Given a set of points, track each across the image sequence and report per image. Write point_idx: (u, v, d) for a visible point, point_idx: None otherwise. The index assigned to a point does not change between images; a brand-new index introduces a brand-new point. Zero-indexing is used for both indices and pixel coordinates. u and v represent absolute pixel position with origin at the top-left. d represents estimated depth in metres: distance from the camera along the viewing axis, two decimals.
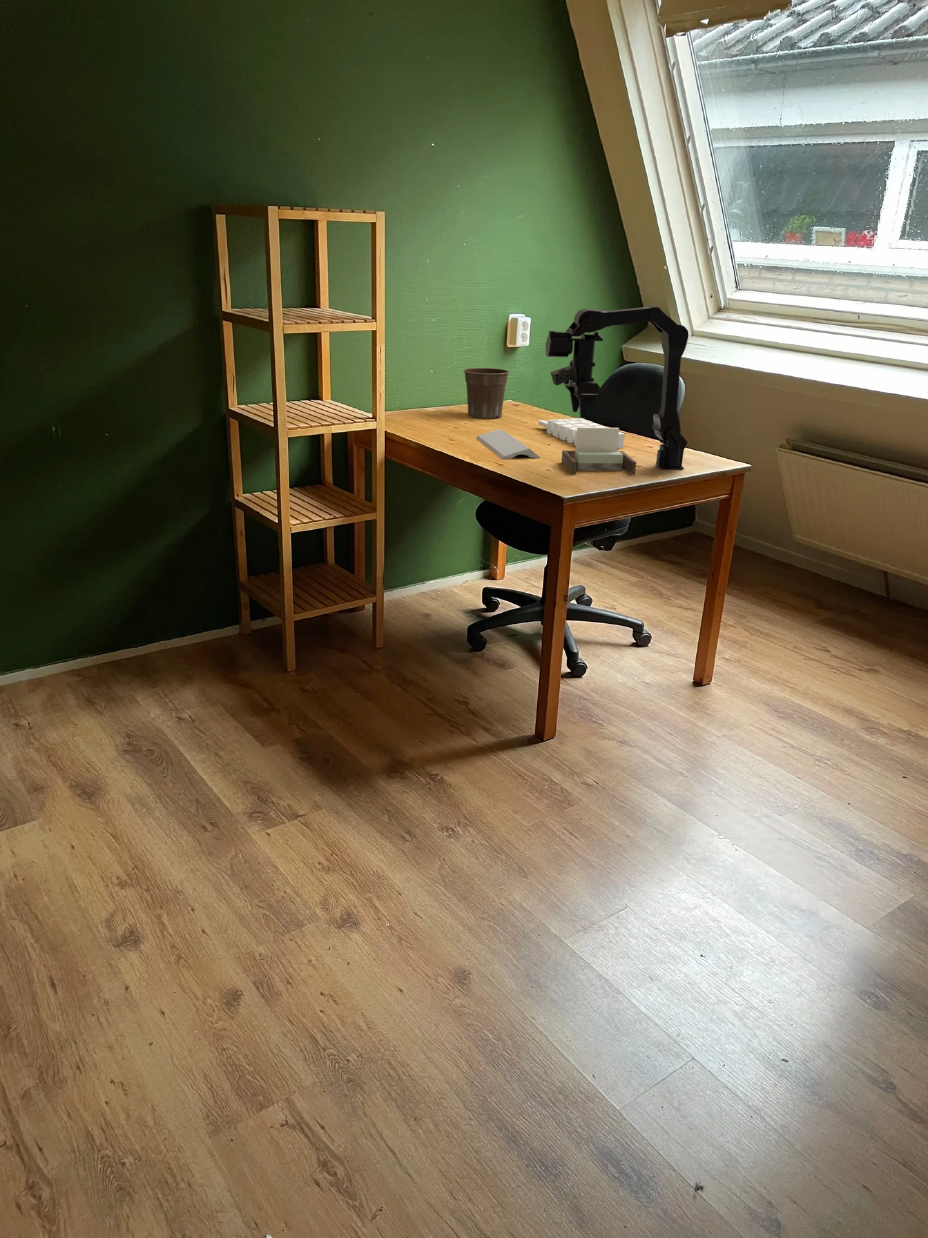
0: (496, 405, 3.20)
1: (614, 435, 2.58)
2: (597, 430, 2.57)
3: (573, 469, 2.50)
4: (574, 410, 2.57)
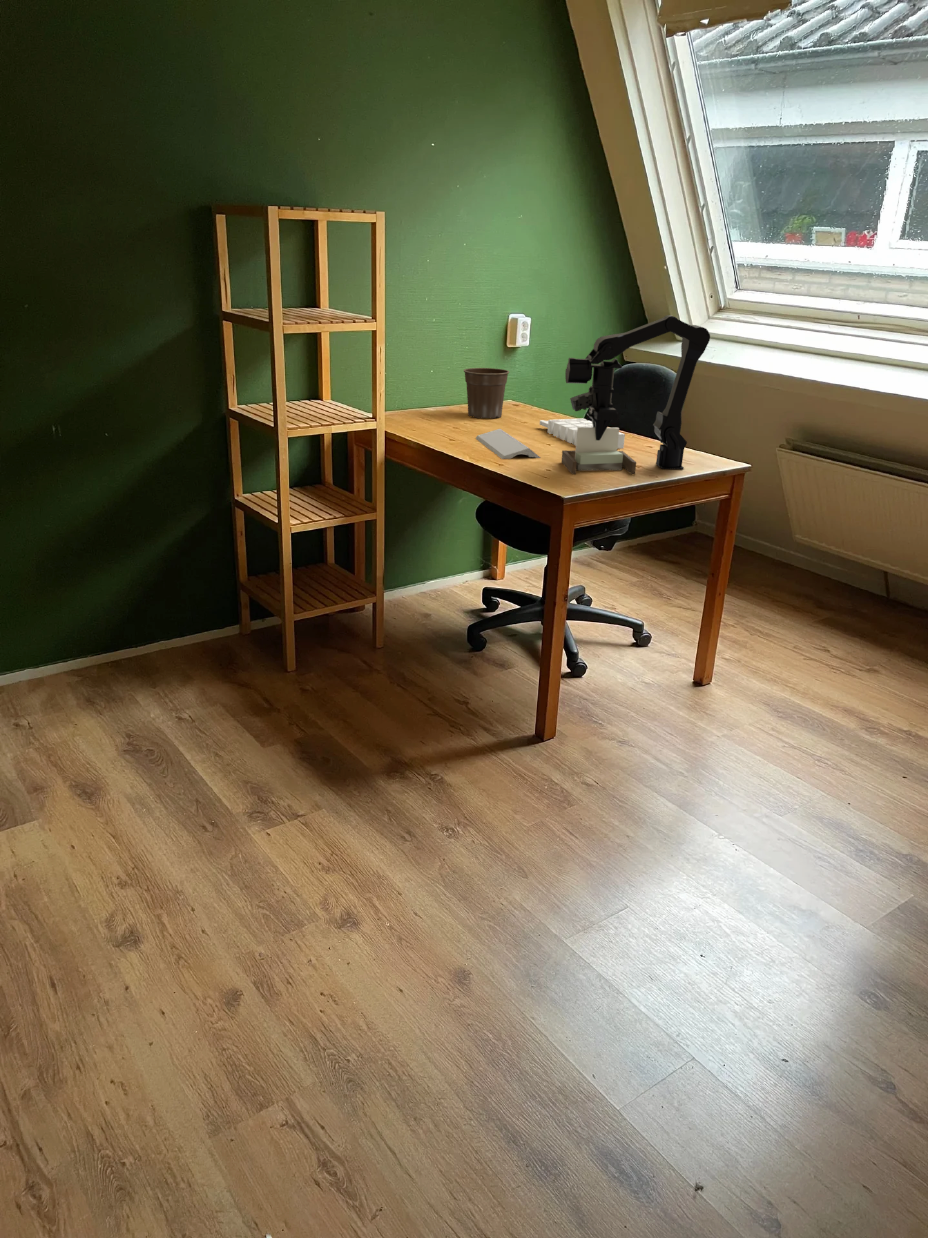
0: (496, 405, 3.20)
1: (614, 435, 2.58)
2: None
3: (573, 469, 2.50)
4: None
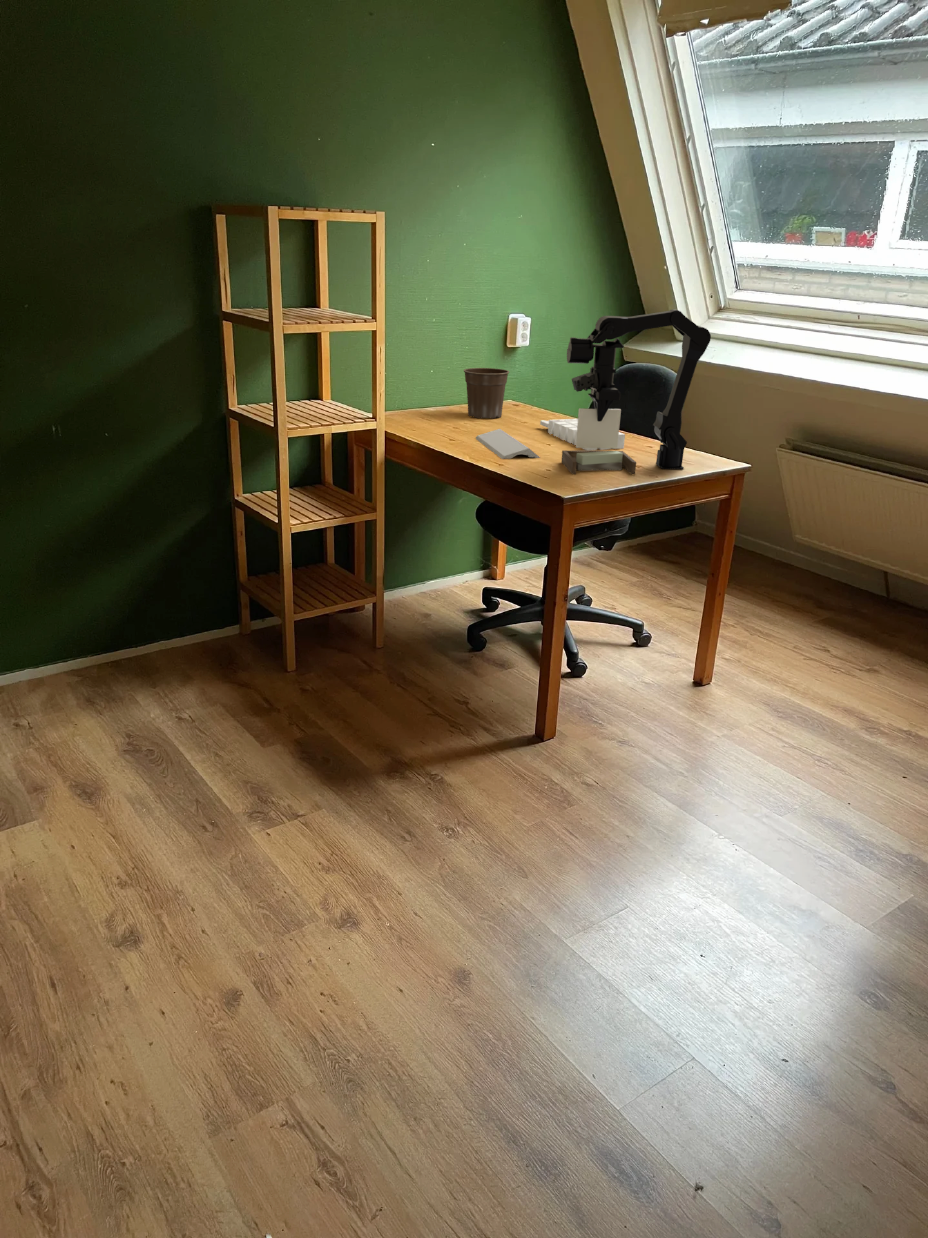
0: (496, 405, 3.20)
1: (616, 416, 2.56)
2: None
3: (573, 469, 2.50)
4: None
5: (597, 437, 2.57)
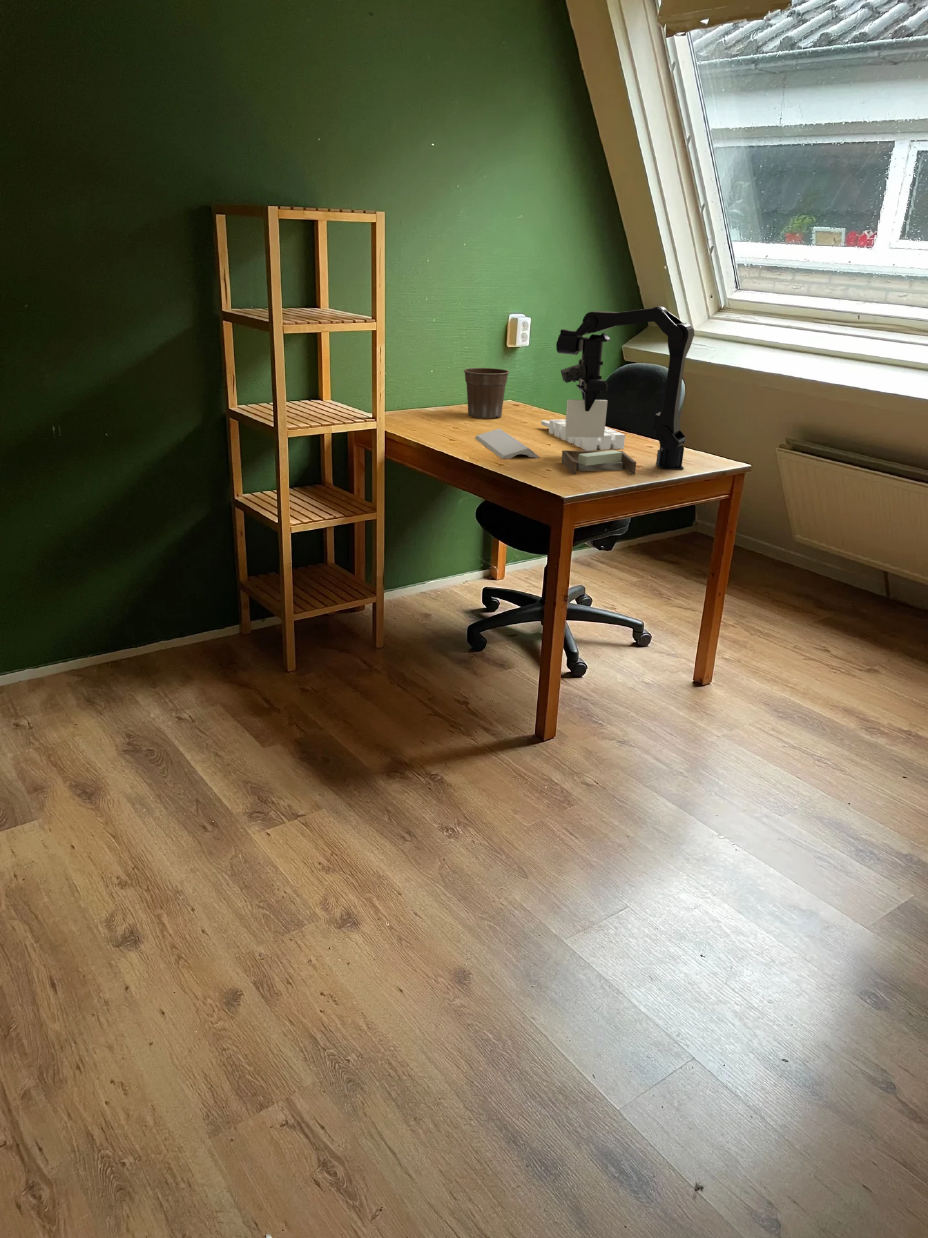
0: (496, 405, 3.20)
1: (603, 407, 2.68)
2: None
3: (573, 469, 2.50)
4: None
5: (585, 427, 2.70)
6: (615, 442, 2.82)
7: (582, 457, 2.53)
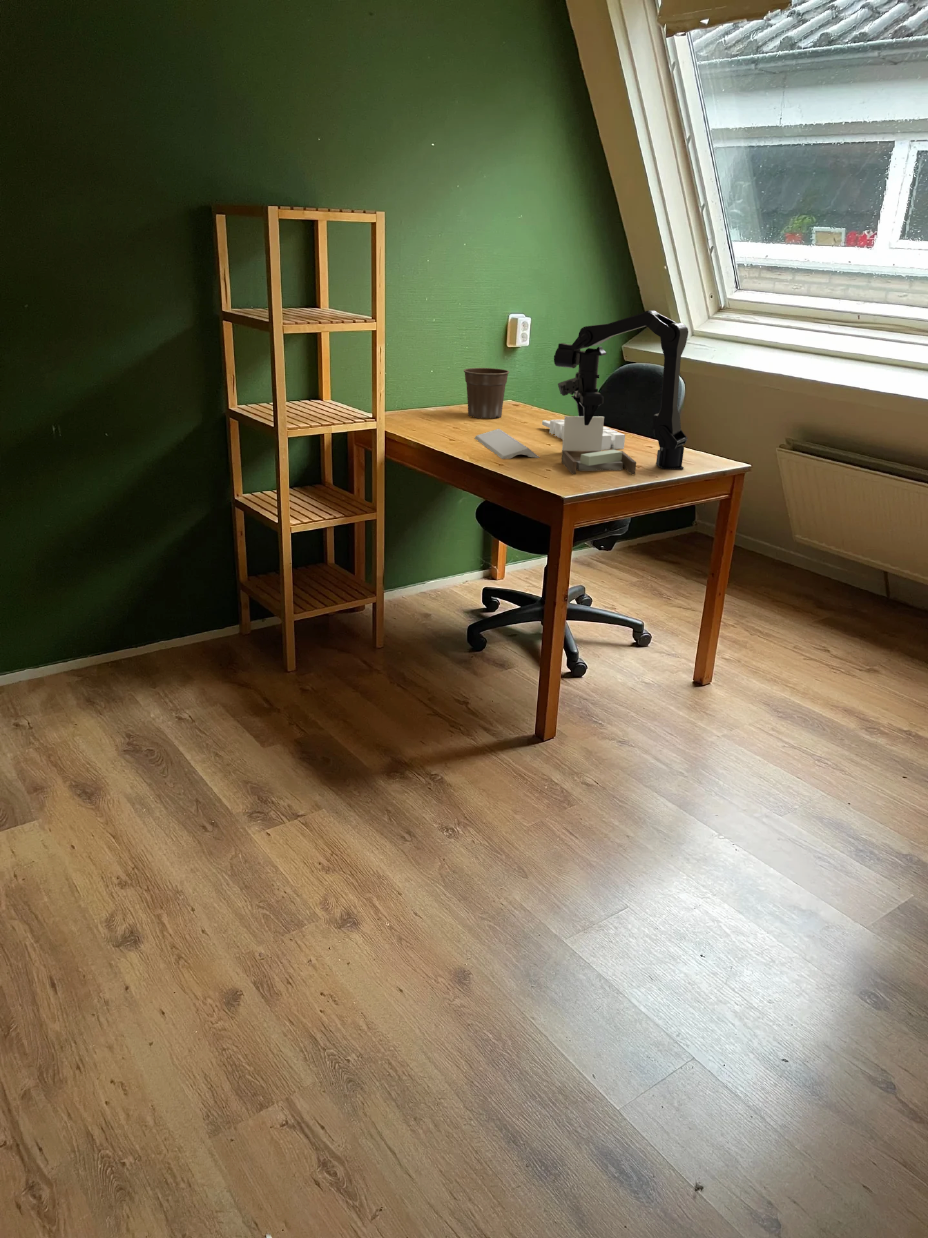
0: (496, 405, 3.20)
1: (599, 423, 2.73)
2: (583, 419, 2.72)
3: (573, 469, 2.50)
4: None
5: (582, 443, 2.75)
6: (615, 442, 2.82)
7: (585, 457, 2.53)
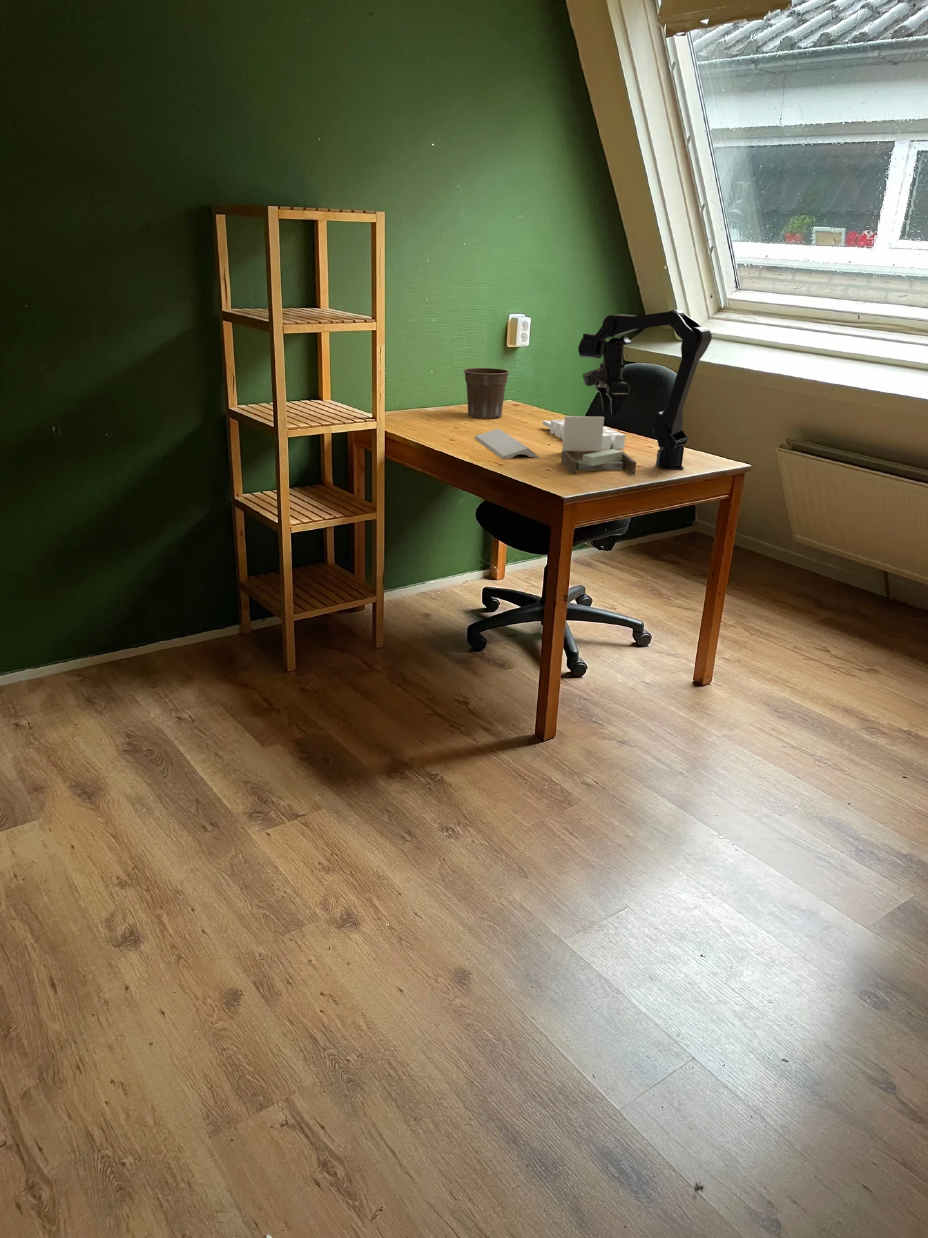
0: (496, 405, 3.20)
1: (599, 423, 2.73)
2: (583, 419, 2.72)
3: (573, 469, 2.50)
4: (604, 409, 2.73)
5: (582, 443, 2.75)
6: (615, 442, 2.81)
7: (587, 458, 2.52)
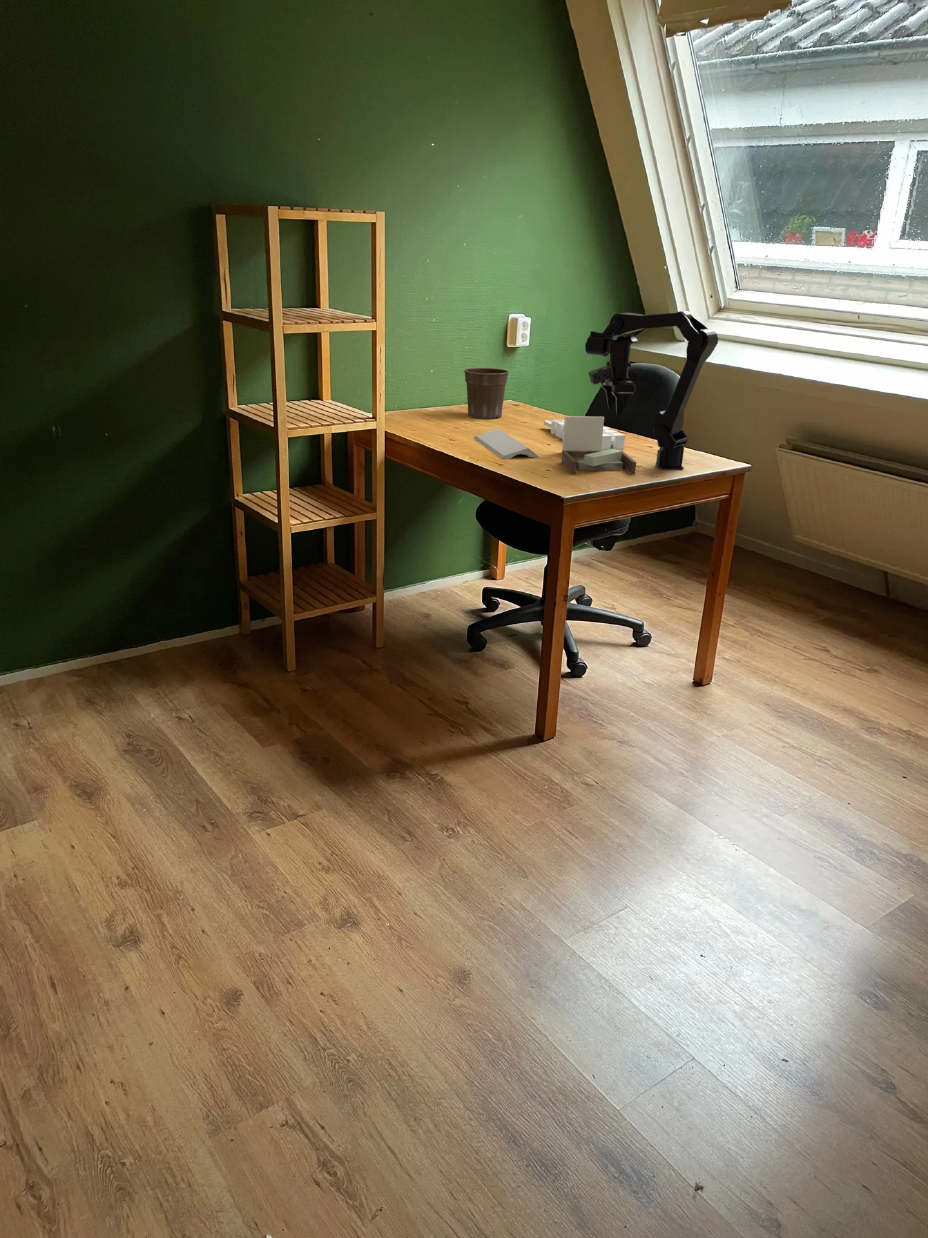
0: (496, 405, 3.20)
1: (599, 423, 2.73)
2: (583, 419, 2.72)
3: (573, 469, 2.50)
4: (609, 408, 2.73)
5: (582, 443, 2.75)
6: (615, 443, 2.81)
7: (589, 458, 2.52)
